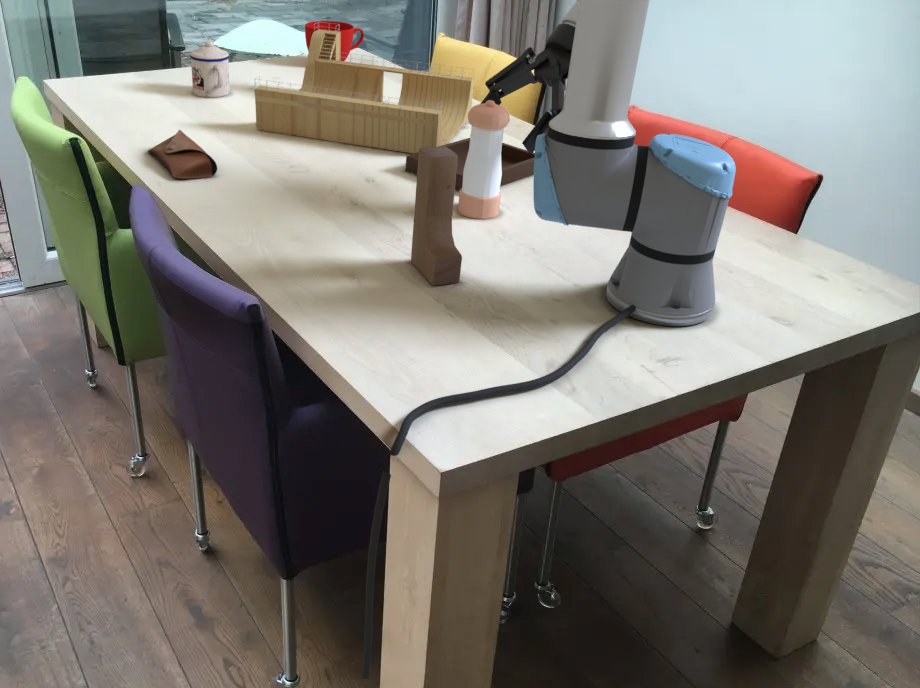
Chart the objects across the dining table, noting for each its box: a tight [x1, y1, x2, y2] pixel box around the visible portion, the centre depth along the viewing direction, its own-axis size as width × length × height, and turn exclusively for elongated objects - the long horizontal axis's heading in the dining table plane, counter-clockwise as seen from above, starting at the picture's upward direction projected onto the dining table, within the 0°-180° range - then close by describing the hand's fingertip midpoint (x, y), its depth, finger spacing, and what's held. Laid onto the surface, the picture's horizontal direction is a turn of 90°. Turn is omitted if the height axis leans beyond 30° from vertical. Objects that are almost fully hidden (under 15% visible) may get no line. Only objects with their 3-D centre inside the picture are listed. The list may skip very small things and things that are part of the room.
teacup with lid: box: [189, 40, 231, 99], centre depth 211 cm, size 12×9×12 cm
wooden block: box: [410, 146, 463, 287], centre depth 132 cm, size 9×4×18 cm, turn 20°
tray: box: [404, 137, 535, 192], centre depth 176 cm, size 22×17×3 cm
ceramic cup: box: [304, 20, 365, 61], centre depth 243 cm, size 13×17×10 cm
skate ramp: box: [253, 22, 476, 154], centre depth 198 cm, size 40×35×16 cm
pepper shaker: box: [457, 100, 511, 220], centre depth 154 cm, size 7×7×19 cm
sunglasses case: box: [147, 129, 218, 180], centre depth 172 cm, size 18×7×7 cm
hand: (499, 137), depth 154 cm, fingers open, 13 cm apart
